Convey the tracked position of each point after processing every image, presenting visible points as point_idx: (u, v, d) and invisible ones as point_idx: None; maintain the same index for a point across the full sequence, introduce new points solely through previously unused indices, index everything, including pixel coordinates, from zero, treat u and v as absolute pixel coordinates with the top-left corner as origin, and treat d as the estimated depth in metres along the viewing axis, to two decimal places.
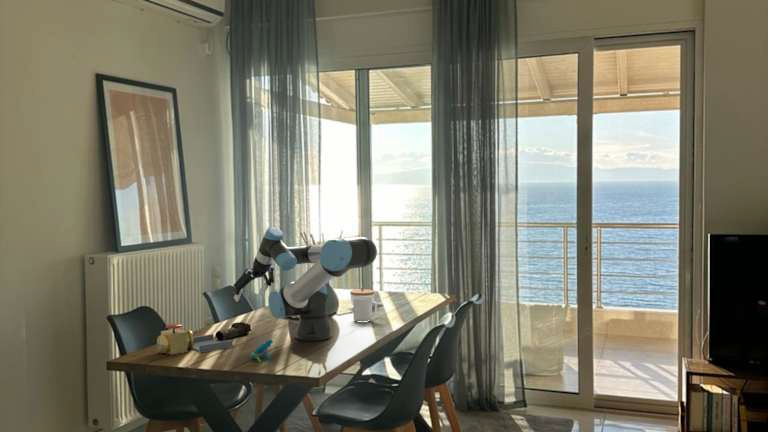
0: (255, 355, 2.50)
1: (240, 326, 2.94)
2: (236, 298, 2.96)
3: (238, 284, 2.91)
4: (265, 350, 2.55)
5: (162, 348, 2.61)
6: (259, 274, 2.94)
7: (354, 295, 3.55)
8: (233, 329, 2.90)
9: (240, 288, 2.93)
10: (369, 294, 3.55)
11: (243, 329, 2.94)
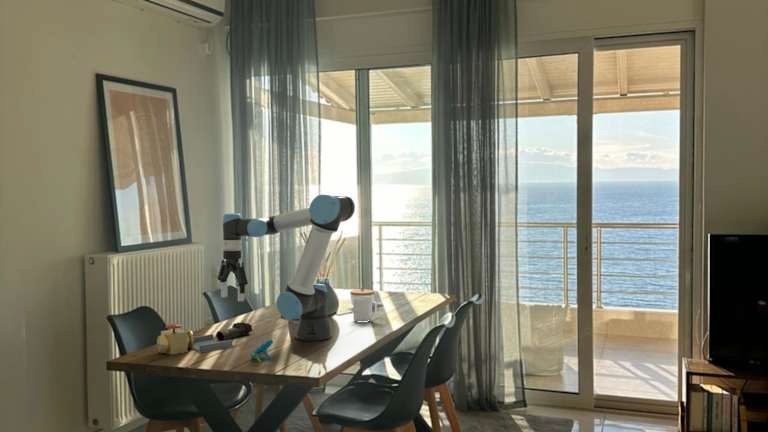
0: (255, 355, 2.50)
1: (241, 326, 2.94)
2: (242, 298, 2.88)
3: (245, 278, 2.86)
4: (265, 350, 2.54)
5: (162, 348, 2.61)
6: None
7: (354, 295, 3.55)
8: (234, 329, 2.90)
9: None
10: (369, 294, 3.55)
11: (244, 329, 2.94)
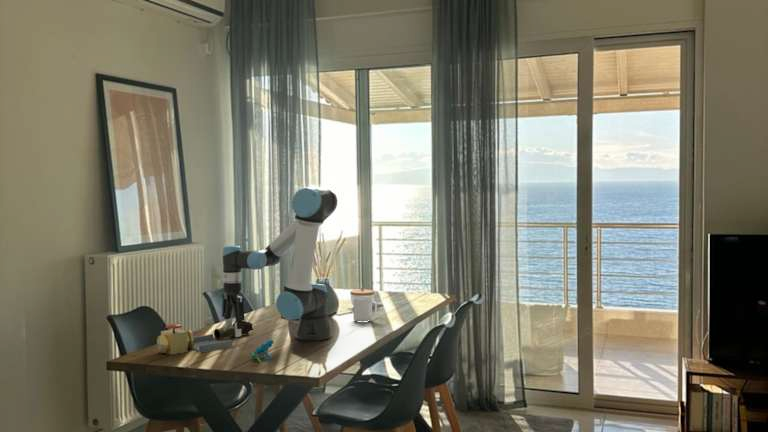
0: (255, 355, 2.50)
1: None
2: (239, 334, 2.91)
3: (242, 314, 2.88)
4: (266, 350, 2.54)
5: (162, 348, 2.61)
6: None
7: (354, 295, 3.55)
8: (232, 328, 2.90)
9: None
10: (369, 294, 3.55)
11: (243, 328, 2.94)
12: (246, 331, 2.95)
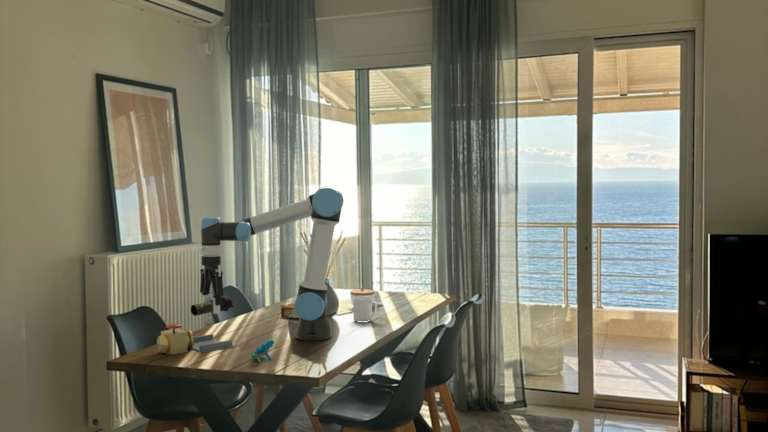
0: (255, 355, 2.50)
1: None
2: (217, 310, 2.74)
3: (221, 290, 2.72)
4: (266, 350, 2.54)
5: (162, 348, 2.61)
6: None
7: (354, 295, 3.55)
8: (210, 304, 2.74)
9: None
10: (369, 294, 3.55)
11: (222, 304, 2.77)
12: (225, 308, 2.78)
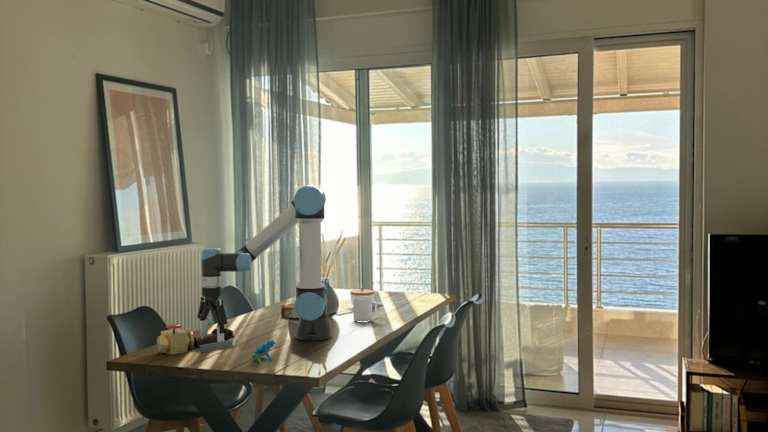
0: (255, 355, 2.50)
1: None
2: (222, 338, 2.73)
3: (225, 318, 2.71)
4: (267, 351, 2.54)
5: (162, 348, 2.61)
6: None
7: (354, 295, 3.55)
8: (211, 335, 2.74)
9: None
10: (369, 294, 3.55)
11: None
12: (226, 339, 2.79)
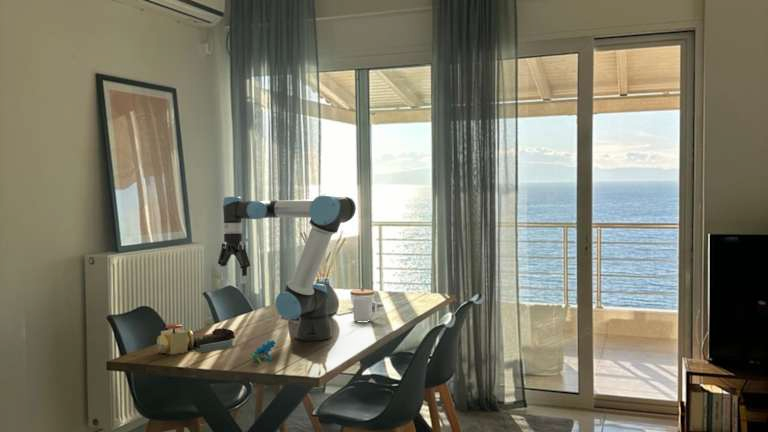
0: (255, 355, 2.50)
1: (220, 333, 2.77)
2: (244, 280, 2.89)
3: (247, 261, 2.87)
4: (267, 351, 2.54)
5: (162, 348, 2.61)
6: None
7: (354, 295, 3.55)
8: (210, 335, 2.74)
9: None
10: (369, 294, 3.55)
11: (223, 336, 2.77)
12: (226, 339, 2.78)
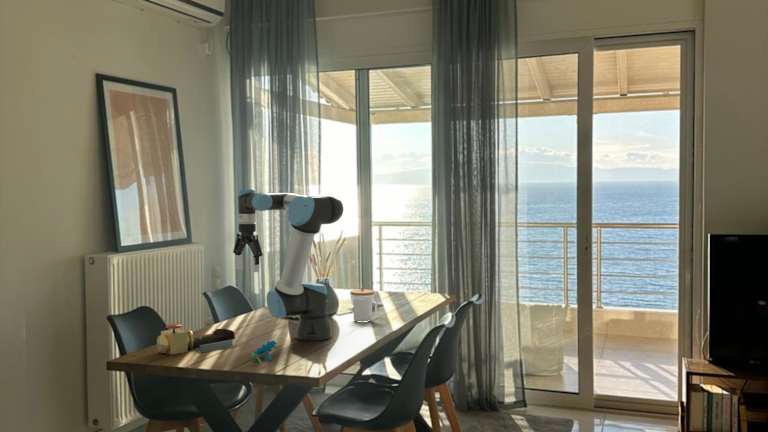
0: (255, 355, 2.50)
1: (220, 333, 2.77)
2: (257, 269, 3.01)
3: (260, 250, 2.99)
4: (267, 351, 2.53)
5: (162, 348, 2.61)
6: None
7: (354, 295, 3.55)
8: (210, 336, 2.74)
9: None
10: (369, 294, 3.55)
11: (223, 336, 2.76)
12: (226, 340, 2.77)
